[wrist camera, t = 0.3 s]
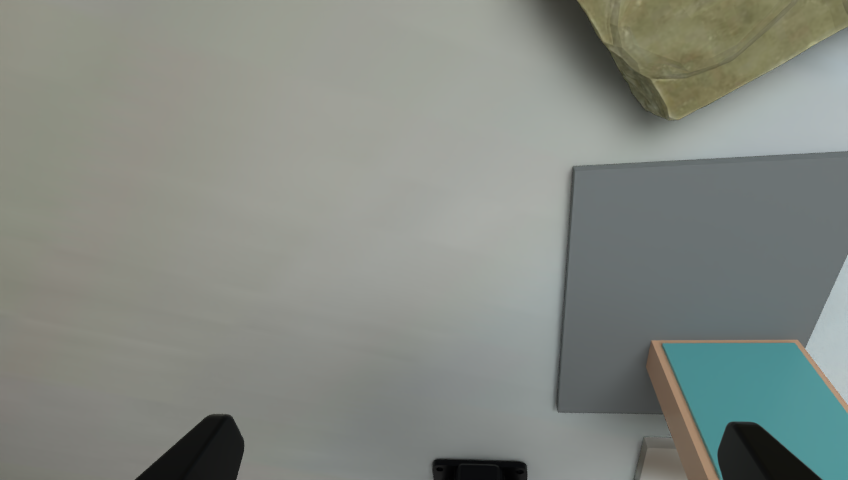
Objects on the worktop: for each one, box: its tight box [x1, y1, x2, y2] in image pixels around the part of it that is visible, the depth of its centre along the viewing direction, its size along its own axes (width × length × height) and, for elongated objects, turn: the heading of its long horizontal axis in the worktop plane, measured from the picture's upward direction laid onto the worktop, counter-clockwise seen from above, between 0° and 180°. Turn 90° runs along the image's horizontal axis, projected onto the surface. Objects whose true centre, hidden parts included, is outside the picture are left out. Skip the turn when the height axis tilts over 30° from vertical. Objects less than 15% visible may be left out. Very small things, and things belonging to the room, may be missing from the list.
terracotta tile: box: [646, 340, 848, 480], centre depth 22 cm, size 2×7×8 cm, turn 96°
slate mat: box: [557, 151, 848, 414], centre depth 24 cm, size 16×12×1 cm
